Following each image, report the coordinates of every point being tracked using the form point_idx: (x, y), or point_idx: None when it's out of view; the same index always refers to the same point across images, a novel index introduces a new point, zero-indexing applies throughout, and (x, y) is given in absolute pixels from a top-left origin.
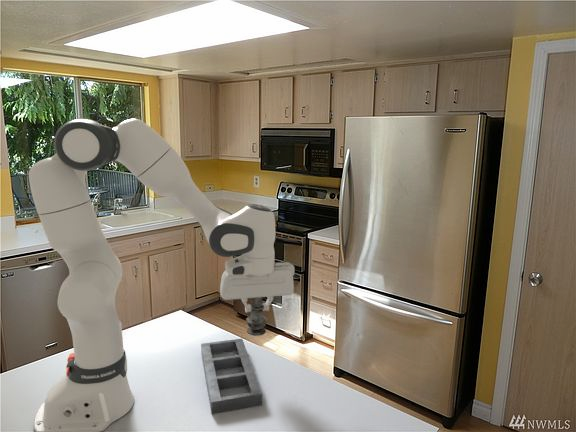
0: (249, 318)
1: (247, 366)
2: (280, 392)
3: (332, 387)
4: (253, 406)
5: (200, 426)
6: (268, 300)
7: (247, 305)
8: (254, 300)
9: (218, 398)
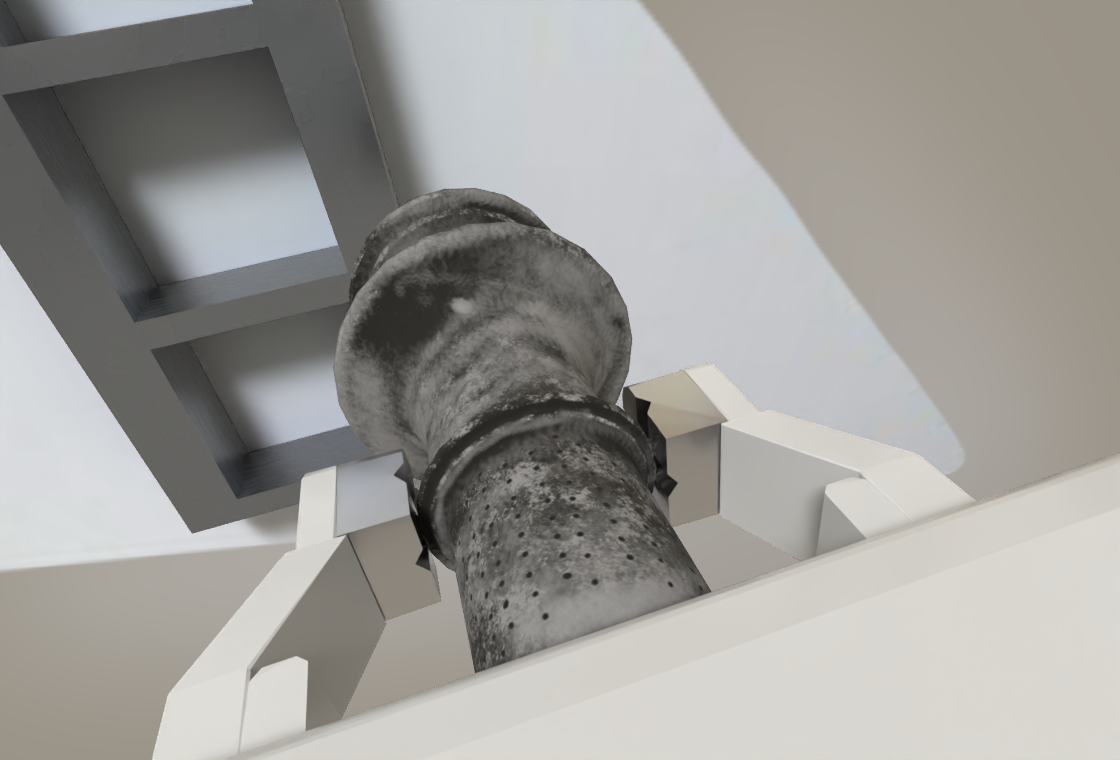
0: (388, 410)
1: (357, 204)
2: None
3: (810, 283)
4: None
5: (177, 548)
6: (800, 516)
7: (367, 662)
8: None
9: (226, 505)
